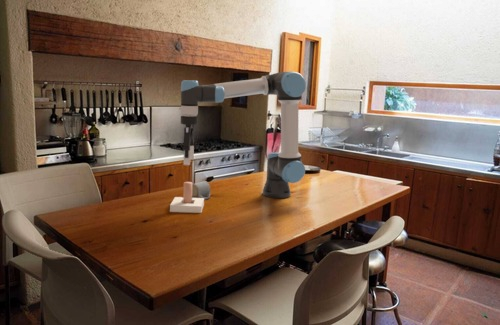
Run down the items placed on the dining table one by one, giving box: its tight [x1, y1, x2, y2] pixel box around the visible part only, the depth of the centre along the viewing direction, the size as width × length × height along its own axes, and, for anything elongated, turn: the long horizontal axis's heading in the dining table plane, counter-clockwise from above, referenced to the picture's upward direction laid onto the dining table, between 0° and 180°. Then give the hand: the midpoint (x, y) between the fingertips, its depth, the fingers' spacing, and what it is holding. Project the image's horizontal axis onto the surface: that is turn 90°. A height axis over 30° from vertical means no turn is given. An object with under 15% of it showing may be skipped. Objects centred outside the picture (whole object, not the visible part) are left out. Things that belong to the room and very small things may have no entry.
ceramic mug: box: [192, 180, 211, 200], centre depth 210 cm, size 11×8×8 cm
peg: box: [182, 181, 193, 204], centre depth 190 cm, size 4×4×12 cm
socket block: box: [169, 196, 205, 214], centre depth 191 cm, size 14×14×3 cm
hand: (188, 162), depth 187 cm, fingers open, 13 cm apart
